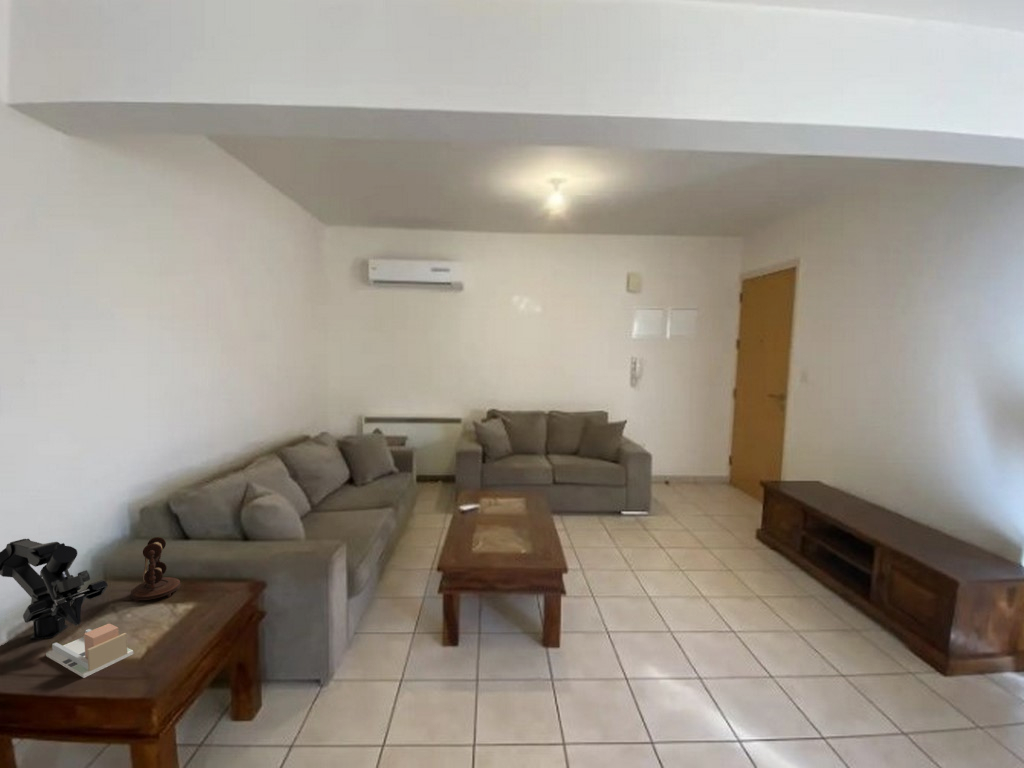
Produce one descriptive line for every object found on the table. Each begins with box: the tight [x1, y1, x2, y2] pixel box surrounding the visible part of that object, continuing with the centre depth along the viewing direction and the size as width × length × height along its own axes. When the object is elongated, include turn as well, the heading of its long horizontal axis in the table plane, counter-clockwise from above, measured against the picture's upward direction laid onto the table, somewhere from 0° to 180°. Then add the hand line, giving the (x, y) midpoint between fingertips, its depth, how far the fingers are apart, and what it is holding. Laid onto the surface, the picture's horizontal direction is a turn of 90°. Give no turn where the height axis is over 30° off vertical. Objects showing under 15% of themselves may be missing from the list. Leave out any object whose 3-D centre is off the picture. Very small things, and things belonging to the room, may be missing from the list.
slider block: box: [83, 622, 120, 659], centre depth 141 cm, size 5×6×8 cm
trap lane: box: [45, 628, 134, 679], centre depth 145 cm, size 21×12×7 cm, turn 64°
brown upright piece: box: [130, 536, 181, 603], centre depth 181 cm, size 15×15×20 cm
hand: (78, 624), depth 147 cm, fingers closed
